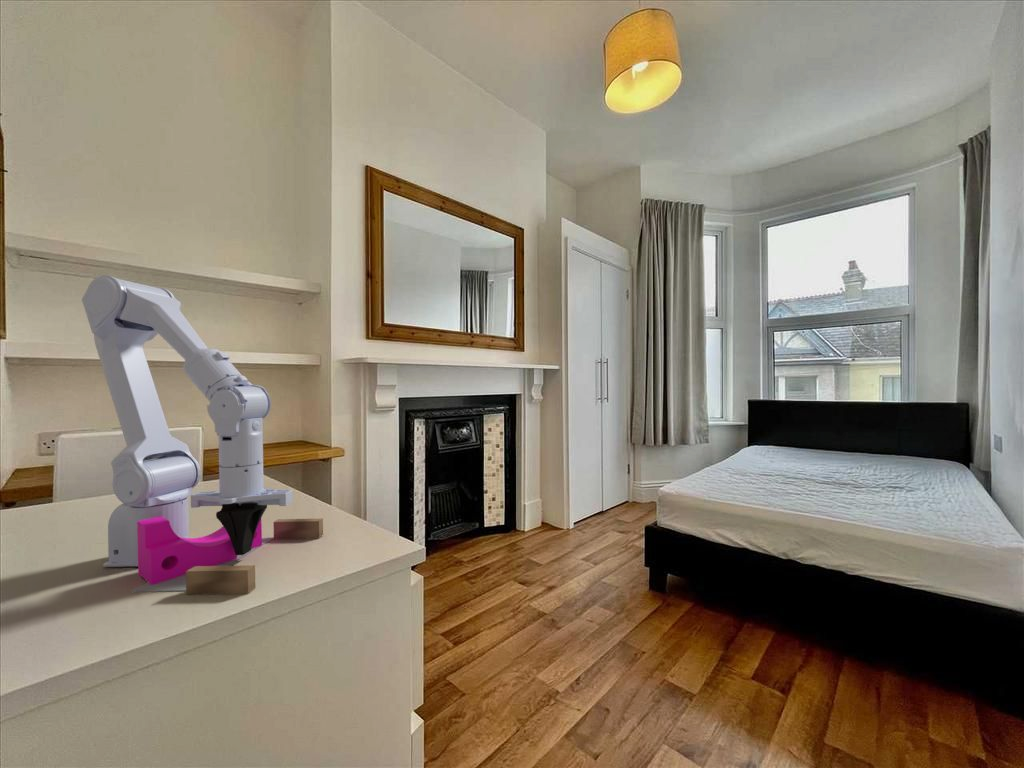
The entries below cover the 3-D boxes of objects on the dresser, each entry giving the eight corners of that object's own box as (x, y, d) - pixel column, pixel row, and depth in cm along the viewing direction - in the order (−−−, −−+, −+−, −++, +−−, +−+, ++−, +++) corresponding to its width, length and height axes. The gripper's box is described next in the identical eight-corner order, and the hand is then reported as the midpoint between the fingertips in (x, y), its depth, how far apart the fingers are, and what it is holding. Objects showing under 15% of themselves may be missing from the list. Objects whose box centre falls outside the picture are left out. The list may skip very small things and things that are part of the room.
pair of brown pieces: (186, 594, 54) (185, 571, 54) (278, 536, 75) (278, 519, 75) (248, 593, 54) (247, 570, 54) (323, 535, 75) (322, 518, 75)
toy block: (151, 584, 57) (150, 529, 57) (138, 573, 60) (137, 521, 60) (268, 548, 69) (267, 502, 69) (252, 540, 72) (251, 497, 72)
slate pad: (131, 595, 55) (130, 591, 55) (229, 541, 74) (229, 538, 74) (190, 594, 55) (190, 590, 55) (273, 540, 74) (273, 537, 74)
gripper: (173, 470, 61) (175, 564, 61) (273, 468, 60) (275, 562, 60) (209, 461, 68) (210, 545, 68) (298, 459, 68) (300, 544, 67)
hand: (243, 552), depth 64 cm, fingers closed
